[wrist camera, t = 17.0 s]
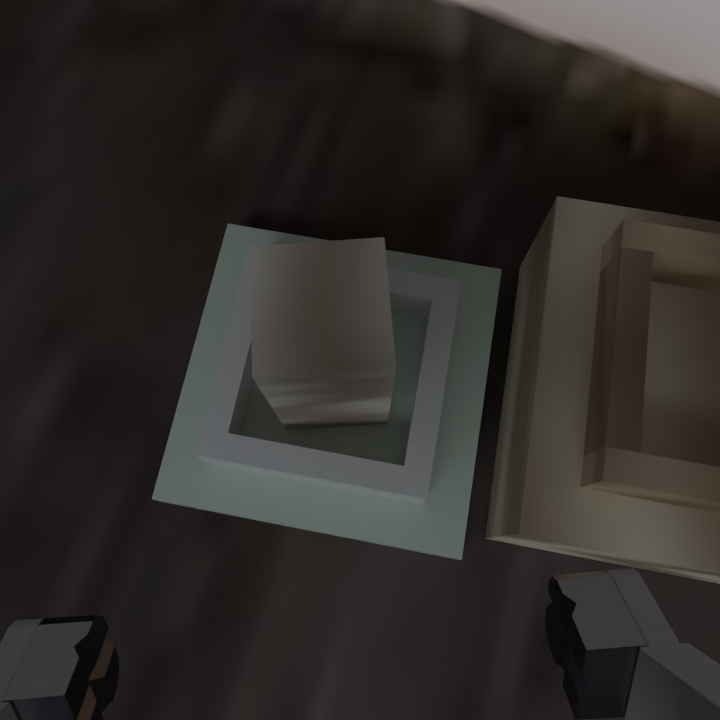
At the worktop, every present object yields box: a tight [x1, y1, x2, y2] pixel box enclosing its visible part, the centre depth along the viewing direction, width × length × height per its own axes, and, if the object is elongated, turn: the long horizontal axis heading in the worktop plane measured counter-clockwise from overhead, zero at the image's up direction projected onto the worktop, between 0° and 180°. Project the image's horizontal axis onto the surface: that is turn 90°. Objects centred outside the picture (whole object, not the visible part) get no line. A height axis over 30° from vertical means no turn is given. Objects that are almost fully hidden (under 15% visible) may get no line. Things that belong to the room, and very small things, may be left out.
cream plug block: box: [249, 237, 396, 431], centre depth 22 cm, size 4×4×8 cm
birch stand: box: [485, 196, 720, 584], centre depth 23 cm, size 12×12×8 cm
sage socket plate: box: [152, 224, 502, 560], centre depth 26 cm, size 12×12×4 cm
